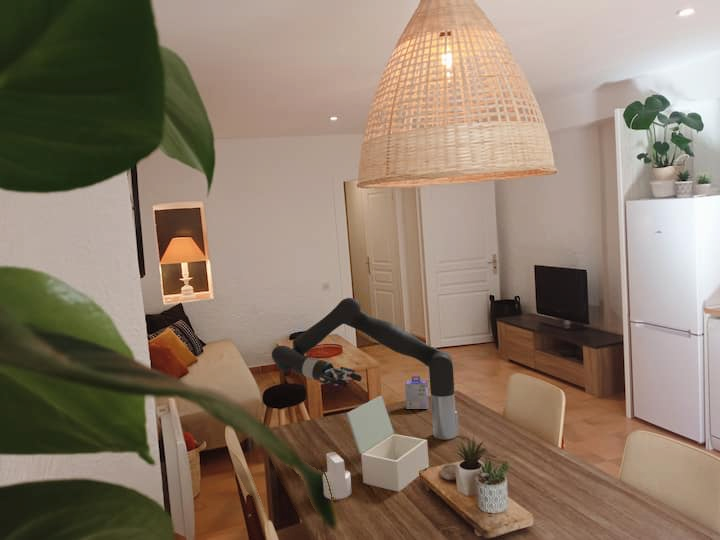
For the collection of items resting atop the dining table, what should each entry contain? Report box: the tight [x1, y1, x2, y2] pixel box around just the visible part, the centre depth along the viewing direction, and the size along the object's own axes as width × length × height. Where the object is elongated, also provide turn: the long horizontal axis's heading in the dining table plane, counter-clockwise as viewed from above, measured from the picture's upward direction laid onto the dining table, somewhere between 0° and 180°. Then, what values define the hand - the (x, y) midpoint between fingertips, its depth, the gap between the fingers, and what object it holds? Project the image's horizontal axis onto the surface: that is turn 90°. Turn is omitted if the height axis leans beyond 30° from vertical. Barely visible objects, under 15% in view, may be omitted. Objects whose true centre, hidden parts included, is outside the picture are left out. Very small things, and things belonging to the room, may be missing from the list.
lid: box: [345, 395, 395, 455], centre depth 205 cm, size 14×21×1 cm
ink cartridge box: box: [404, 375, 430, 410], centre depth 268 cm, size 10×6×14 cm, turn 78°
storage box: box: [360, 433, 430, 493], centre depth 200 cm, size 14×20×10 cm
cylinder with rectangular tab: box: [322, 451, 352, 500], centre depth 191 cm, size 9×9×12 cm
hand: (354, 381), depth 207 cm, fingers open, 8 cm apart
